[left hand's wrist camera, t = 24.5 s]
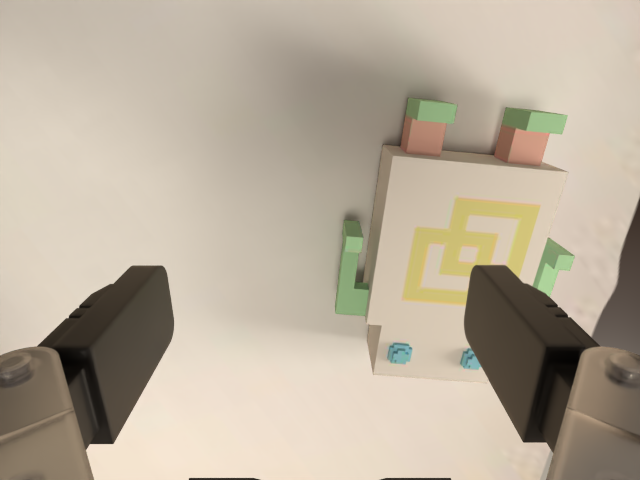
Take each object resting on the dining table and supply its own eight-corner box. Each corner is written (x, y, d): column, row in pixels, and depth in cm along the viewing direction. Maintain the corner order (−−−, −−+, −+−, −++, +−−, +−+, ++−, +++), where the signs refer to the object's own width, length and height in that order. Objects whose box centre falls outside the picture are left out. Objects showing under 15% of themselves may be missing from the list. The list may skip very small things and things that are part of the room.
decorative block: (532, 391, 41) (330, 376, 40) (505, 351, 47) (328, 337, 46) (628, 121, 31) (365, 95, 31) (579, 114, 37) (357, 92, 37)
